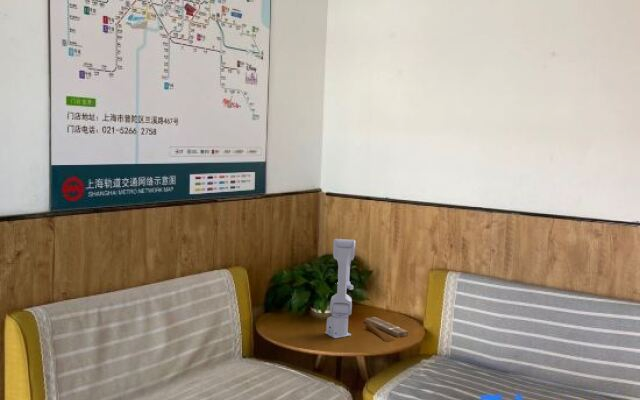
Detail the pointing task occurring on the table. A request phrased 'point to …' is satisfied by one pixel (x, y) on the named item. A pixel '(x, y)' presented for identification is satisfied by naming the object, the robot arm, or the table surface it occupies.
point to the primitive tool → (379, 333)
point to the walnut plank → (386, 327)
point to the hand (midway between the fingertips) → (342, 300)
